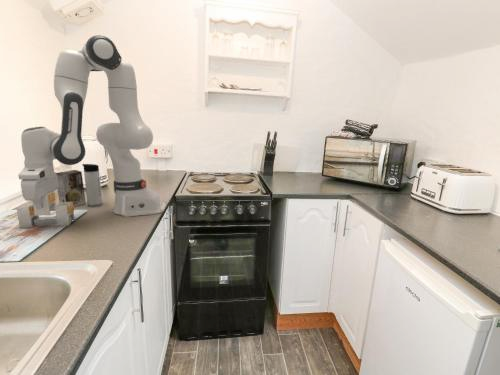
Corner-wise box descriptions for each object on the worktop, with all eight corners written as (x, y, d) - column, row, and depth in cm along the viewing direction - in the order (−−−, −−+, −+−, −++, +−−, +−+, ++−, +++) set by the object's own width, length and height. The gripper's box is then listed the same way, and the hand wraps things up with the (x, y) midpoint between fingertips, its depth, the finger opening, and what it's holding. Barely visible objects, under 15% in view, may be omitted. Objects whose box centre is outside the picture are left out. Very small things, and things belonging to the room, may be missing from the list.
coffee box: (78, 201, 146) (74, 169, 142) (86, 203, 142) (82, 171, 138) (59, 206, 138) (54, 172, 134) (66, 208, 135) (62, 174, 131)
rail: (76, 220, 121) (74, 201, 119) (70, 225, 115) (68, 206, 113) (28, 222, 118) (25, 202, 116) (19, 227, 112) (16, 207, 110)
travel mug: (85, 204, 141) (80, 163, 136) (99, 202, 146) (95, 162, 141) (89, 207, 137) (84, 165, 132) (104, 205, 141) (100, 163, 136)
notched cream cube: (34, 215, 112) (31, 195, 110) (42, 210, 118) (39, 191, 116) (51, 215, 113) (48, 194, 111) (58, 210, 119) (55, 190, 117)
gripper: (44, 166, 121) (48, 198, 124) (15, 175, 101) (21, 214, 104) (61, 166, 122) (64, 198, 125) (35, 175, 102) (41, 213, 105)
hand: (44, 205), depth 114 cm, fingers closed on notched cream cube, 6 cm apart
